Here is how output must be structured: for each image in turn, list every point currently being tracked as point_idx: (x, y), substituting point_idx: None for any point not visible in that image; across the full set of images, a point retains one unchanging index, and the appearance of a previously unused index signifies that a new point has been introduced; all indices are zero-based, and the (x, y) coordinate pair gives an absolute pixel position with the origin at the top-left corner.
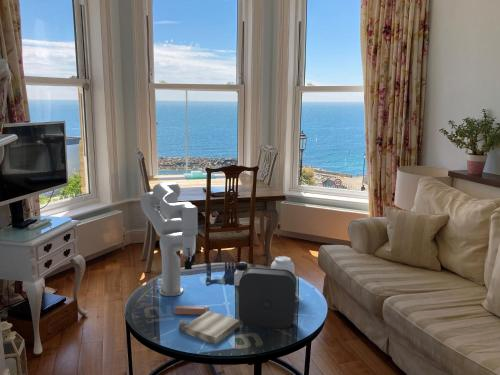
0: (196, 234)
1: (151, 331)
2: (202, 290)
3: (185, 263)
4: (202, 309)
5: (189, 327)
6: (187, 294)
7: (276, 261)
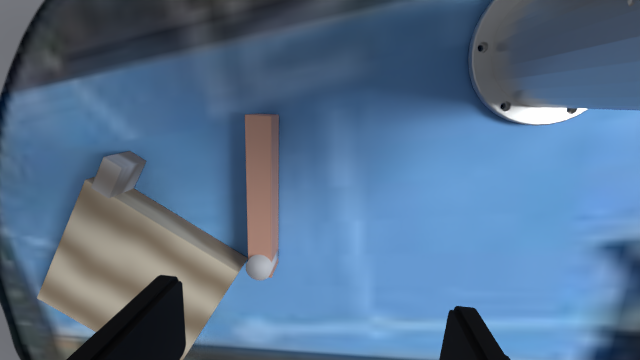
0: None
1: (93, 33)
2: (535, 224)
3: (100, 344)
4: (248, 247)
5: (83, 203)
6: (490, 150)
7: None
